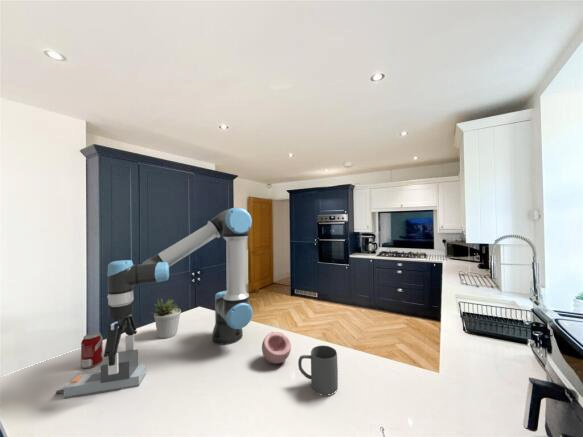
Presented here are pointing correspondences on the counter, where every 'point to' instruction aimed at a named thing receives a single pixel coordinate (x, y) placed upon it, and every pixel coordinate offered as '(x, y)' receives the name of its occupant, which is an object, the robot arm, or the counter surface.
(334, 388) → the mug
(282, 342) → the pink round pot
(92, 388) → the socket strip
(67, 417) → the counter surface
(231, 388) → the counter surface
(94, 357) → the soda can
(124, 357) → the plug
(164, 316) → the potted plant
